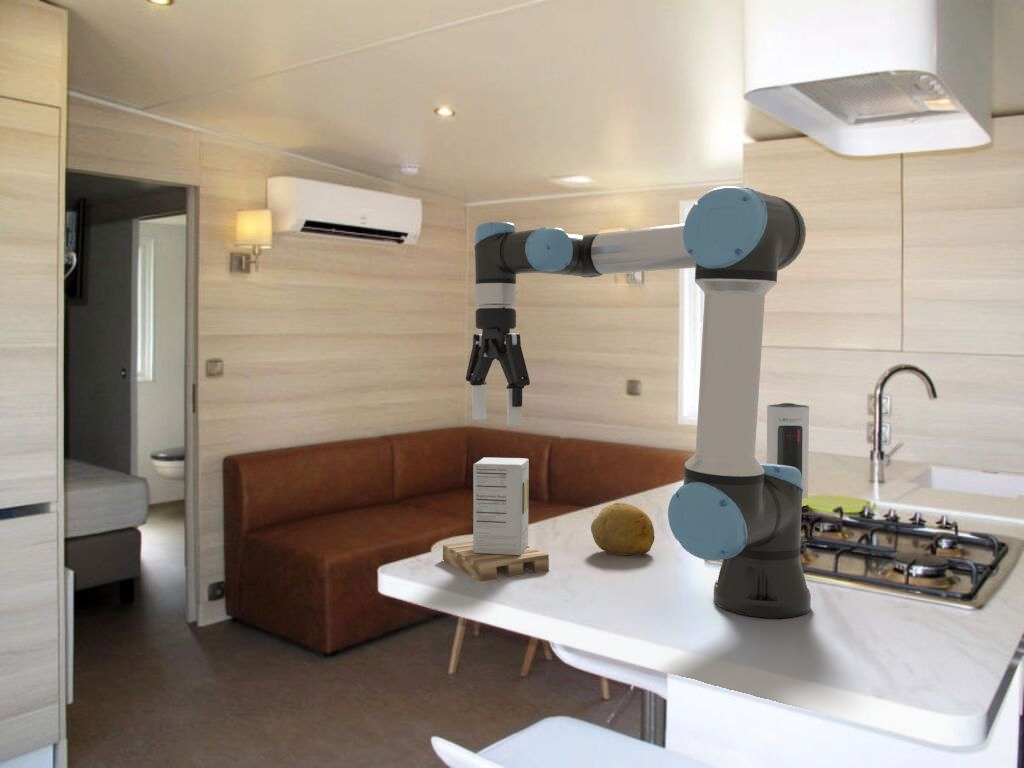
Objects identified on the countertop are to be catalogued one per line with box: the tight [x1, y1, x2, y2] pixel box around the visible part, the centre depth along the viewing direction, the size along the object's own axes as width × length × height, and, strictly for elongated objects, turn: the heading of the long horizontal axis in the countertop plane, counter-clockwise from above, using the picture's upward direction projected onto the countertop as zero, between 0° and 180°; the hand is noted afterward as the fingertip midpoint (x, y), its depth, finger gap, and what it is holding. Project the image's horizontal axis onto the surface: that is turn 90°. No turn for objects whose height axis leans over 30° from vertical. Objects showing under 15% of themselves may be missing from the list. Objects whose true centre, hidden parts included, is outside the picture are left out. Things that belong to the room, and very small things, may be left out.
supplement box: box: [472, 457, 530, 555], centre depth 161 cm, size 10×9×17 cm
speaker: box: [766, 402, 810, 499], centre depth 220 cm, size 11×10×26 cm
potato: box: [590, 502, 656, 556], centre depth 171 cm, size 10×12×10 cm
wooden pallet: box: [442, 540, 550, 582], centre depth 161 cm, size 16×14×3 cm
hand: (496, 422), depth 159 cm, fingers open, 13 cm apart
